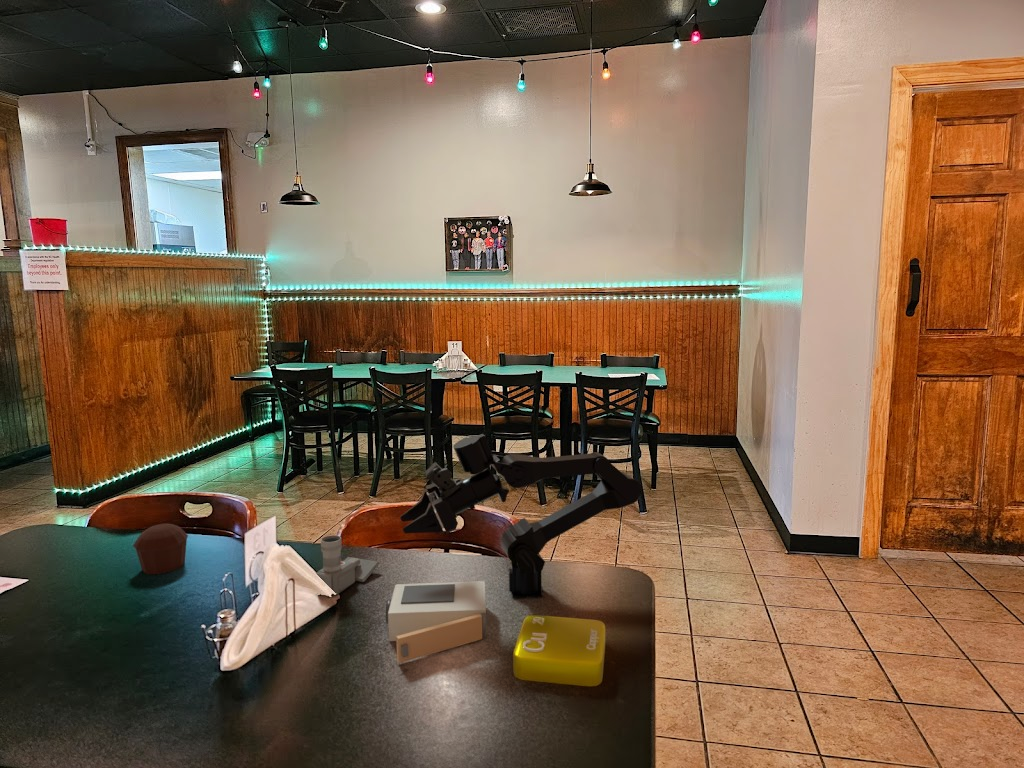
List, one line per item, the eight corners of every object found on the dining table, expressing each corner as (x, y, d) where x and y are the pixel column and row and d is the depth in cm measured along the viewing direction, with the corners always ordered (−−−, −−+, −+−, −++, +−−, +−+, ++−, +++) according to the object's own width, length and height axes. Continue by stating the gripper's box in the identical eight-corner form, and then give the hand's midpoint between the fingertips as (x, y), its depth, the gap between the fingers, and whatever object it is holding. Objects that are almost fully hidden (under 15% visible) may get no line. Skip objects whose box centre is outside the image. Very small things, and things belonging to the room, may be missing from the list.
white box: (485, 606, 134) (484, 579, 133) (486, 637, 122) (485, 608, 121) (391, 610, 133) (390, 583, 132) (383, 641, 121) (382, 612, 120)
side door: (484, 635, 122) (484, 612, 121) (489, 639, 120) (488, 616, 120) (397, 660, 114) (396, 636, 113) (400, 665, 112) (399, 641, 112)
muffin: (158, 555, 162) (155, 517, 160) (200, 557, 160) (196, 518, 159) (124, 576, 150) (120, 535, 149) (168, 578, 149) (164, 536, 147)
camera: (304, 541, 139) (346, 519, 153) (306, 593, 141) (348, 567, 154) (338, 546, 136) (378, 523, 150) (340, 600, 137) (379, 572, 151)
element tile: (601, 690, 106) (602, 662, 106) (511, 680, 109) (510, 654, 108) (605, 641, 121) (606, 617, 120) (525, 634, 124) (525, 610, 123)
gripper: (450, 449, 142) (384, 480, 139) (463, 463, 124) (386, 499, 121) (471, 494, 144) (405, 526, 141) (486, 515, 125) (411, 552, 123)
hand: (402, 525), depth 131 cm, fingers open, 9 cm apart
